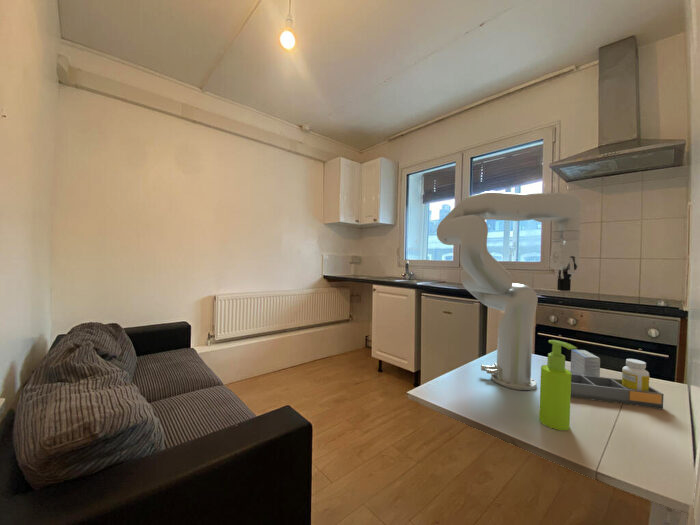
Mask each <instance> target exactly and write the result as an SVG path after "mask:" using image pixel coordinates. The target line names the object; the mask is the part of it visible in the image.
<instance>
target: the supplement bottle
mask: <svg viewBox="0 0 700 525" xmlns="http://www.w3.org/2000/svg"><path fill="white" fill-rule="evenodd" d="M646 368H647V362H645V361H643V360H639V359H636V358H635V359H634V358H626V359H625V366H623V367H622V371H621V379H622V386H624V387H626V388H627V389H631V390H639V391H647V392H649V386H650V372H649V371H648V370H646Z"/></svg>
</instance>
